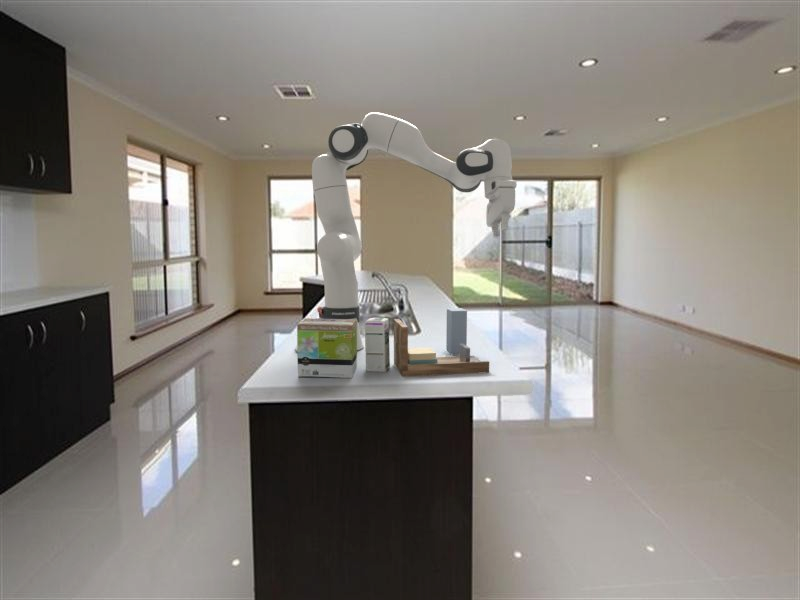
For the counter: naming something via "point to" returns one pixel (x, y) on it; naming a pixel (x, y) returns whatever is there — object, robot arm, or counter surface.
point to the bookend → (466, 354)
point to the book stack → (421, 356)
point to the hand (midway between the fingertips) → (500, 233)
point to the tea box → (327, 347)
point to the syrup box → (377, 344)
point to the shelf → (440, 368)
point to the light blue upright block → (456, 329)
